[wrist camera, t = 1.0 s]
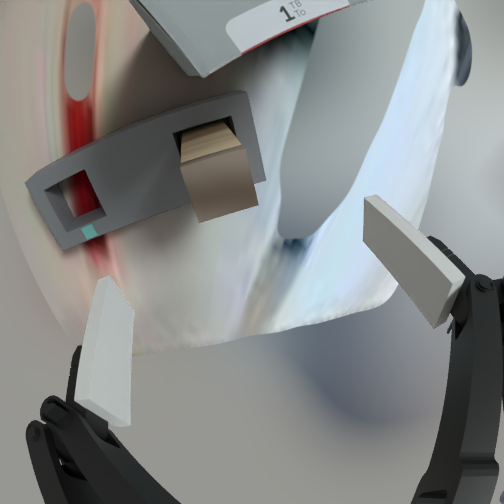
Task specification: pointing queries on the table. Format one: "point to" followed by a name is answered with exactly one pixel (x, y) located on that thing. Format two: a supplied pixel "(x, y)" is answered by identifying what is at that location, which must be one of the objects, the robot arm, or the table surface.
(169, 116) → the socket strip
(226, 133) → the plug
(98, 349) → the robot arm
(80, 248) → the table surface
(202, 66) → the hard drive box
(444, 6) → the table surface
